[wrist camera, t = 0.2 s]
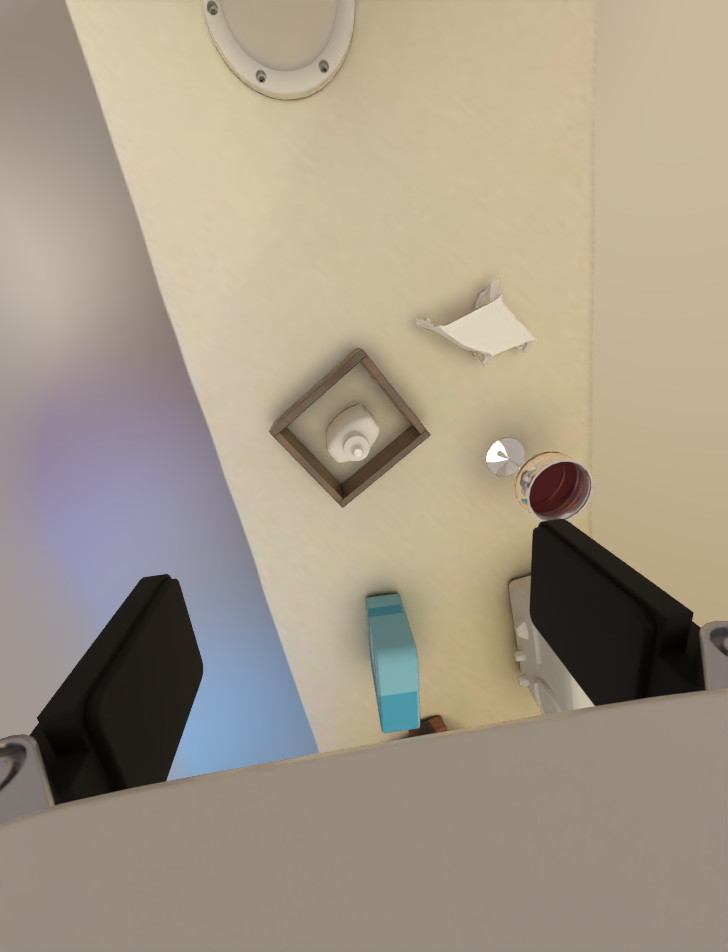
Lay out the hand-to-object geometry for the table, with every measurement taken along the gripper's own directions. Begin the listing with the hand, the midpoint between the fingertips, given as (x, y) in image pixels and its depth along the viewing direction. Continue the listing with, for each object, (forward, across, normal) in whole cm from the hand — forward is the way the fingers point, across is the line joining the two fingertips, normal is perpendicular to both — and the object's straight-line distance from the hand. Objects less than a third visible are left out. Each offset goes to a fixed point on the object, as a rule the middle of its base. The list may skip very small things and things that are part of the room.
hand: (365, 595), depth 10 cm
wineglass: (+37, -21, +10) cm, 44 cm away
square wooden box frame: (+37, -2, +3) cm, 37 cm away
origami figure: (+37, -16, -6) cm, 41 cm away
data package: (+37, -4, +32) cm, 49 cm away
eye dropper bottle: (+37, -2, +3) cm, 37 cm away
